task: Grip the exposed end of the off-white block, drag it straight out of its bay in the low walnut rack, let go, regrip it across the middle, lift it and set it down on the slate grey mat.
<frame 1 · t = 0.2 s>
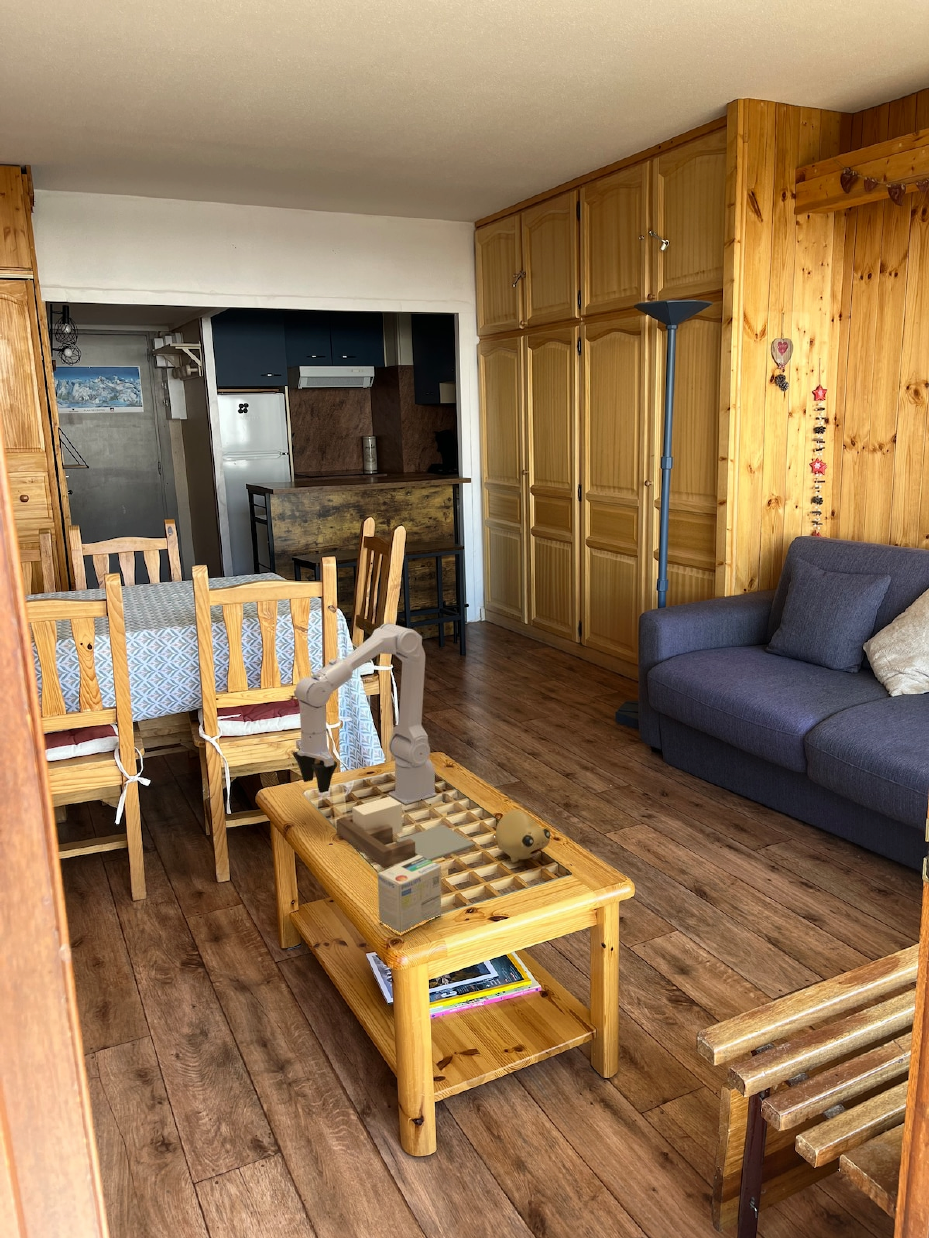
hand: (316, 786, 219), 10 cm above the table, tool pointing down, fingers open, 7 cm apart
off-white block: (377, 834, 217), on the table
tan toy animal: (522, 859, 205), on the table
light bulb box: (410, 920, 181), on the table
walnut rack: (368, 836, 216), on the table
grey mat: (435, 843, 212), on the table
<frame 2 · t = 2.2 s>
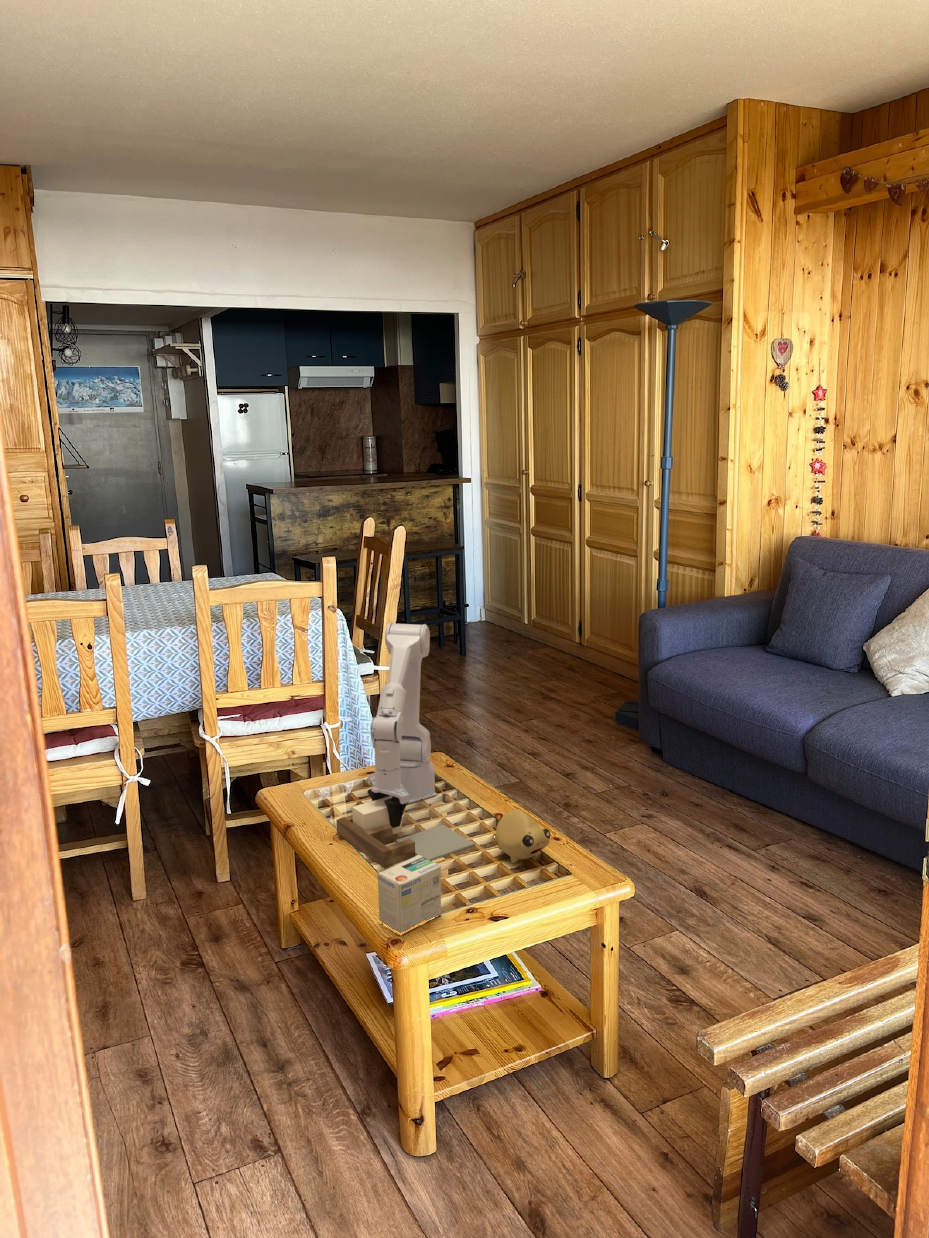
hand: (388, 822, 218), 2 cm above the table, tool pointing down, fingers closed on off-white block, 5 cm apart
off-white block: (377, 833, 217), on the table, touching gripper
everything else where it was.
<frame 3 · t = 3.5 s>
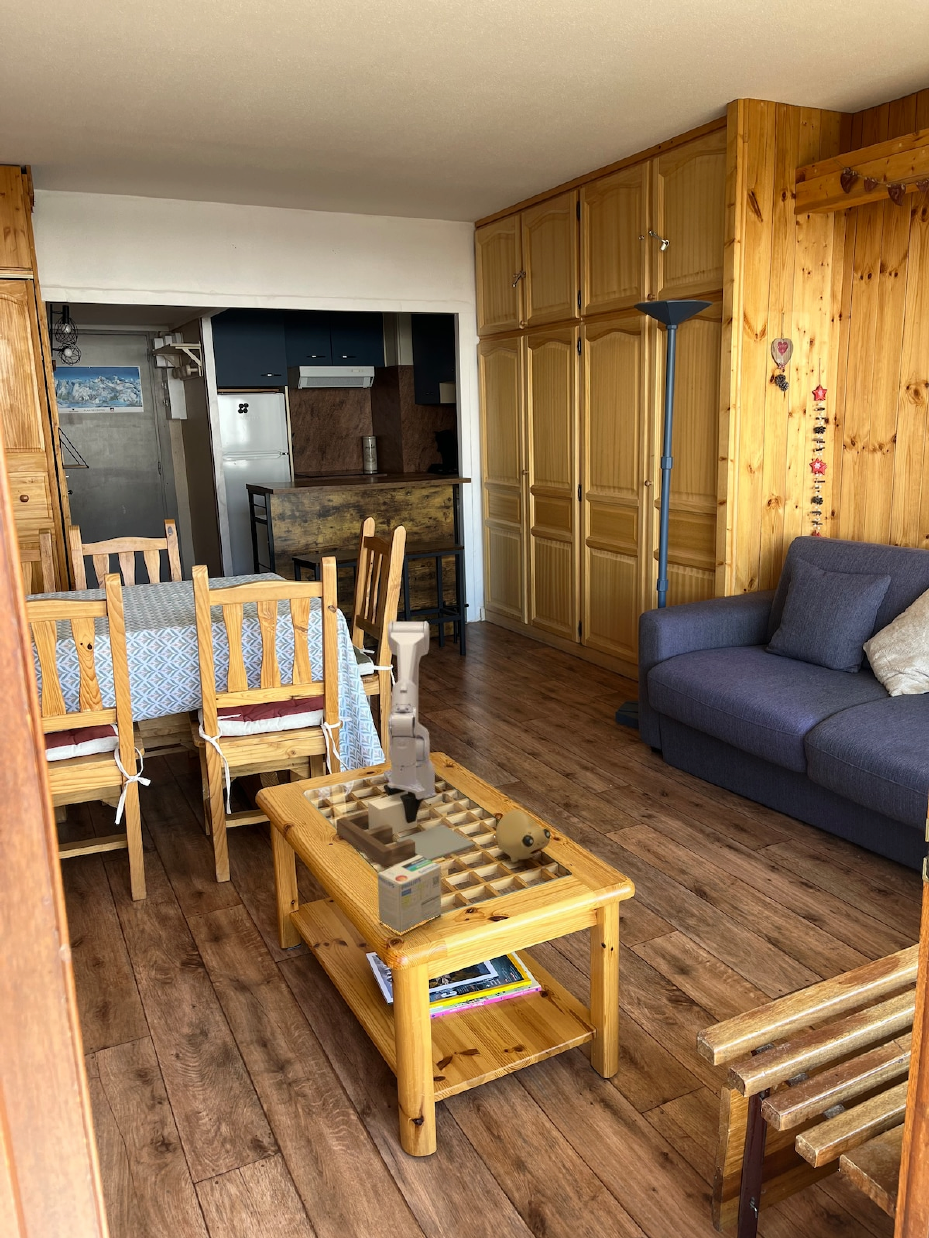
hand: (404, 817, 221), 2 cm above the table, tool pointing down, fingers closed on off-white block, 5 cm apart
off-white block: (393, 828, 219), on the table, touching gripper
everything else where it was.
when the fingers open (2 cm above the table, at t = 4.7 s): off-white block stays where it is, on the table.
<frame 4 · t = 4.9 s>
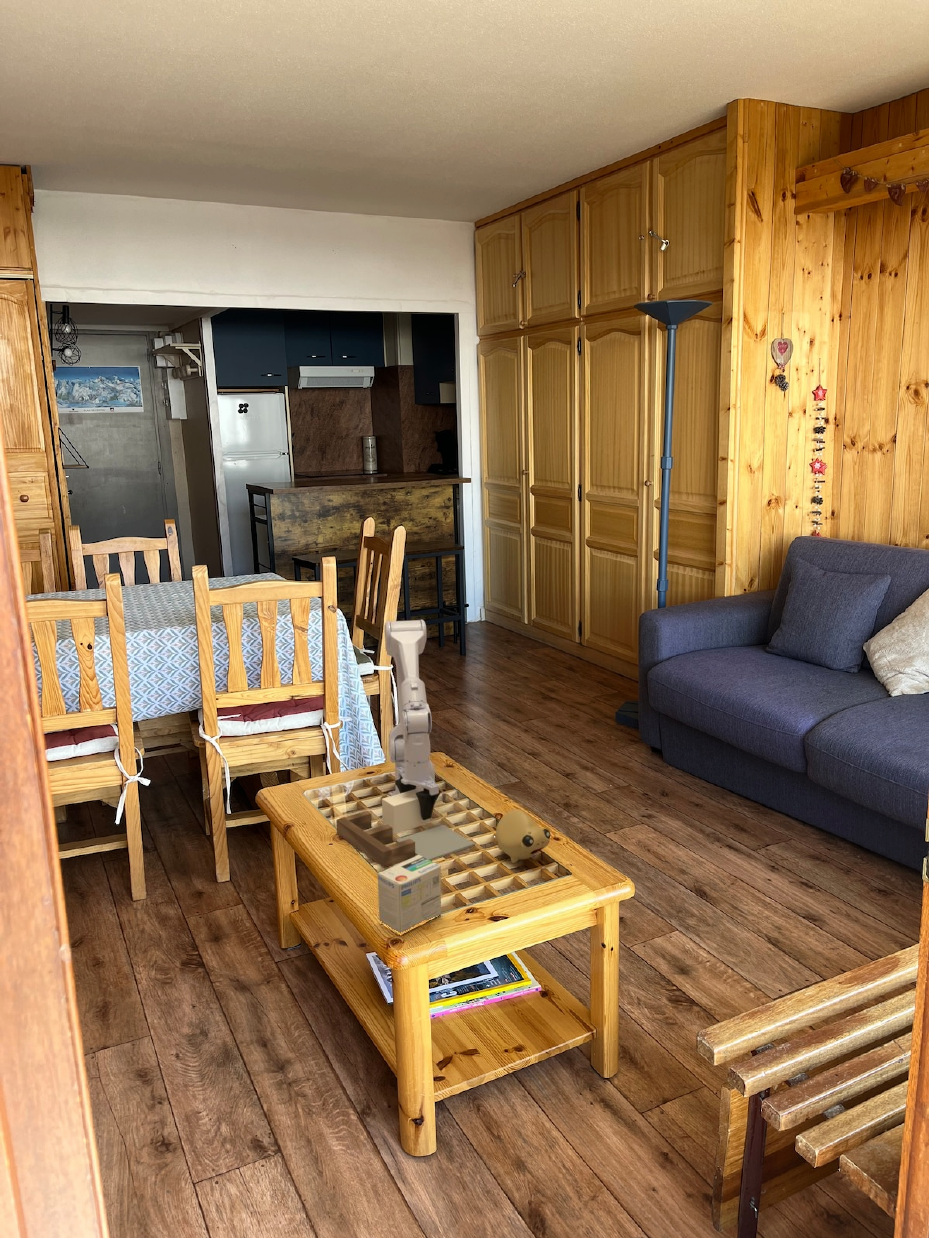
hand: (417, 813, 223), 2 cm above the table, tool pointing down, fingers open, 7 cm apart
off-white block: (406, 824, 222), on the table
everything else where it was.
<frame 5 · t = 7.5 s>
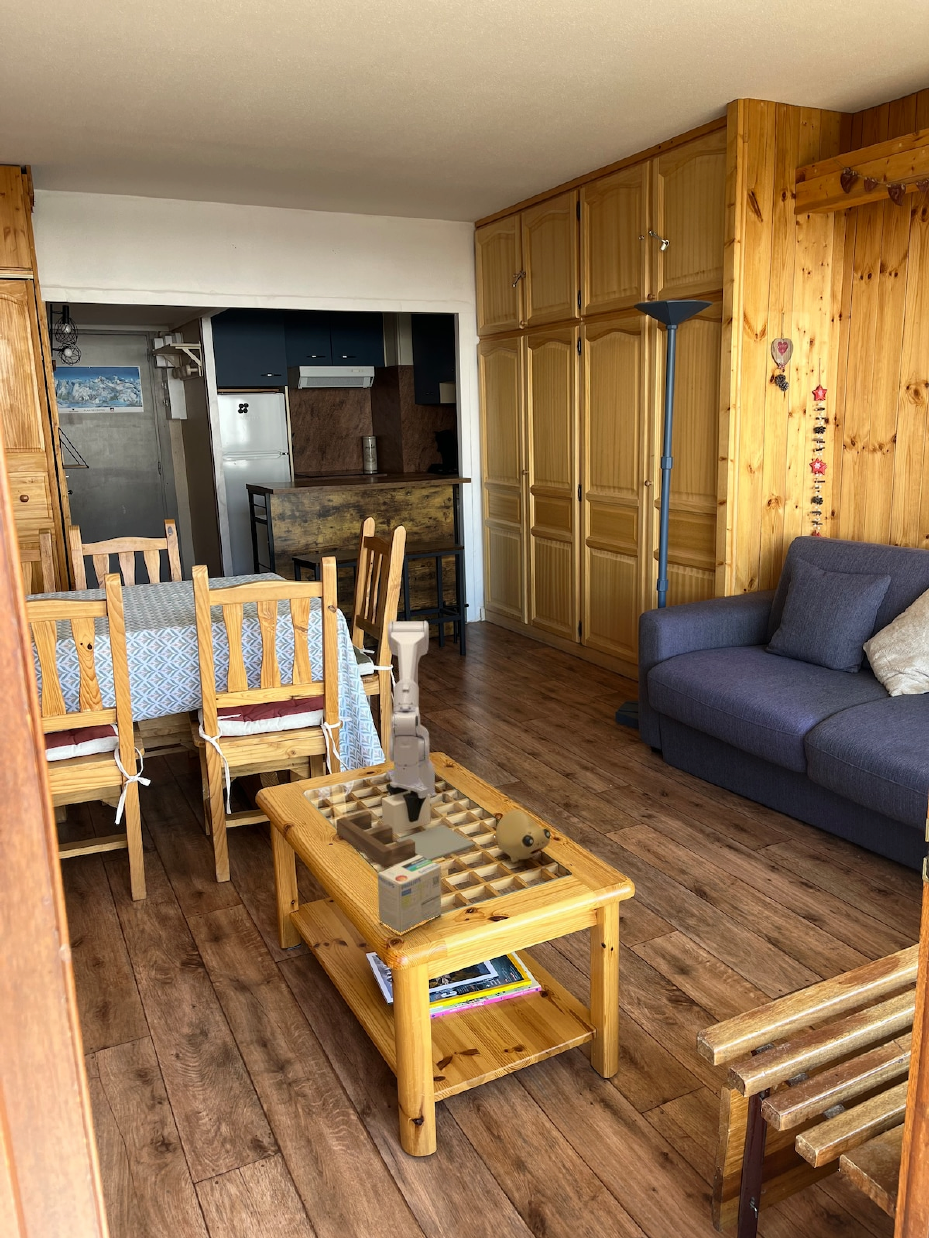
hand: (407, 816, 221), 2 cm above the table, tool pointing down, fingers closed on off-white block, 5 cm apart
off-white block: (406, 824, 222), on the table, touching gripper
everything else where it was.
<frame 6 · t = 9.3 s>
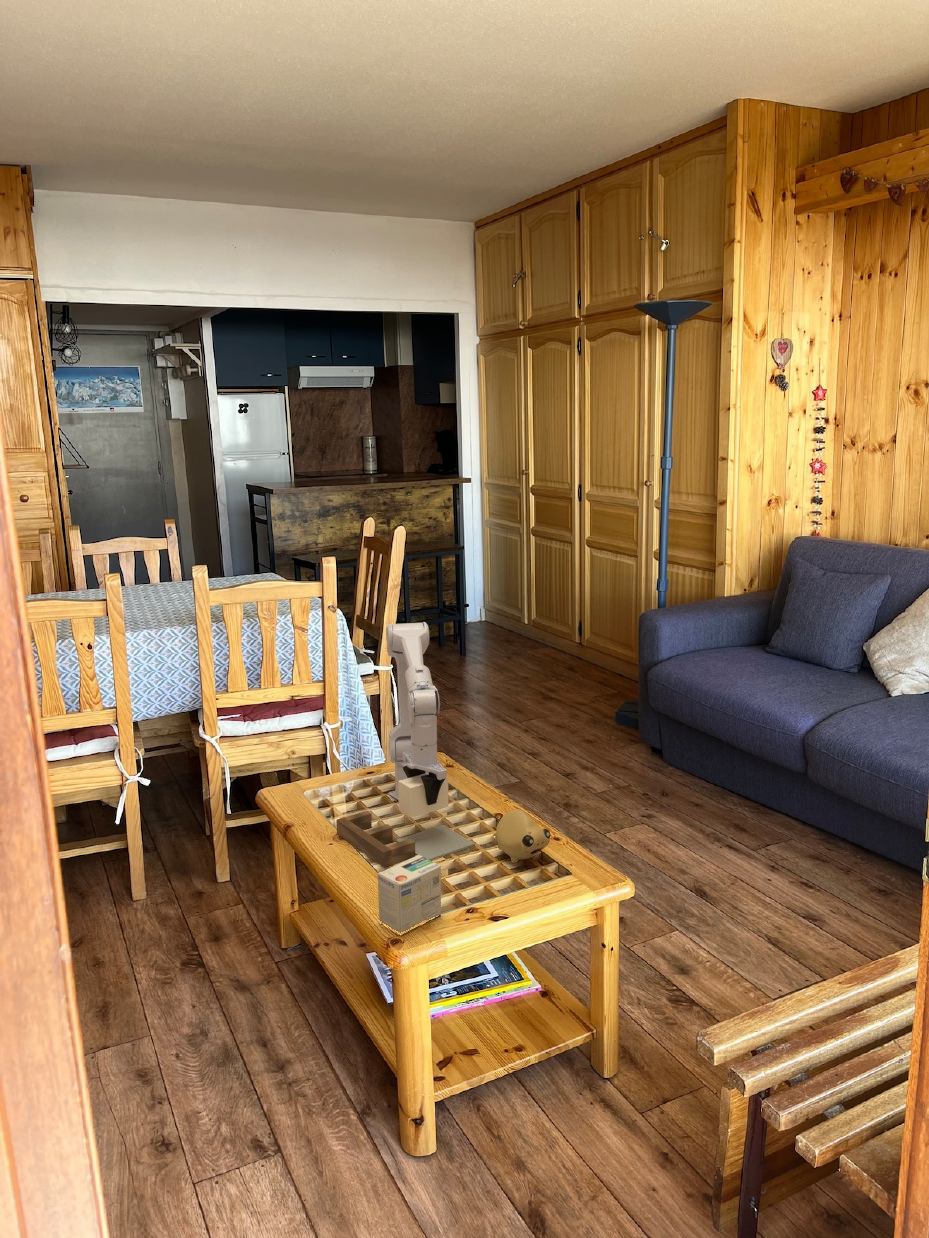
hand: (424, 799, 213), 9 cm above the table, tool pointing down, fingers closed on off-white block, 5 cm apart
off-white block: (423, 808, 214), point 7 cm above the table, touching gripper
everything else where it was.
when the fingers open (4 cm above the table, at t = 11.0 s): off-white block drops 1 cm, resting on grey mat.
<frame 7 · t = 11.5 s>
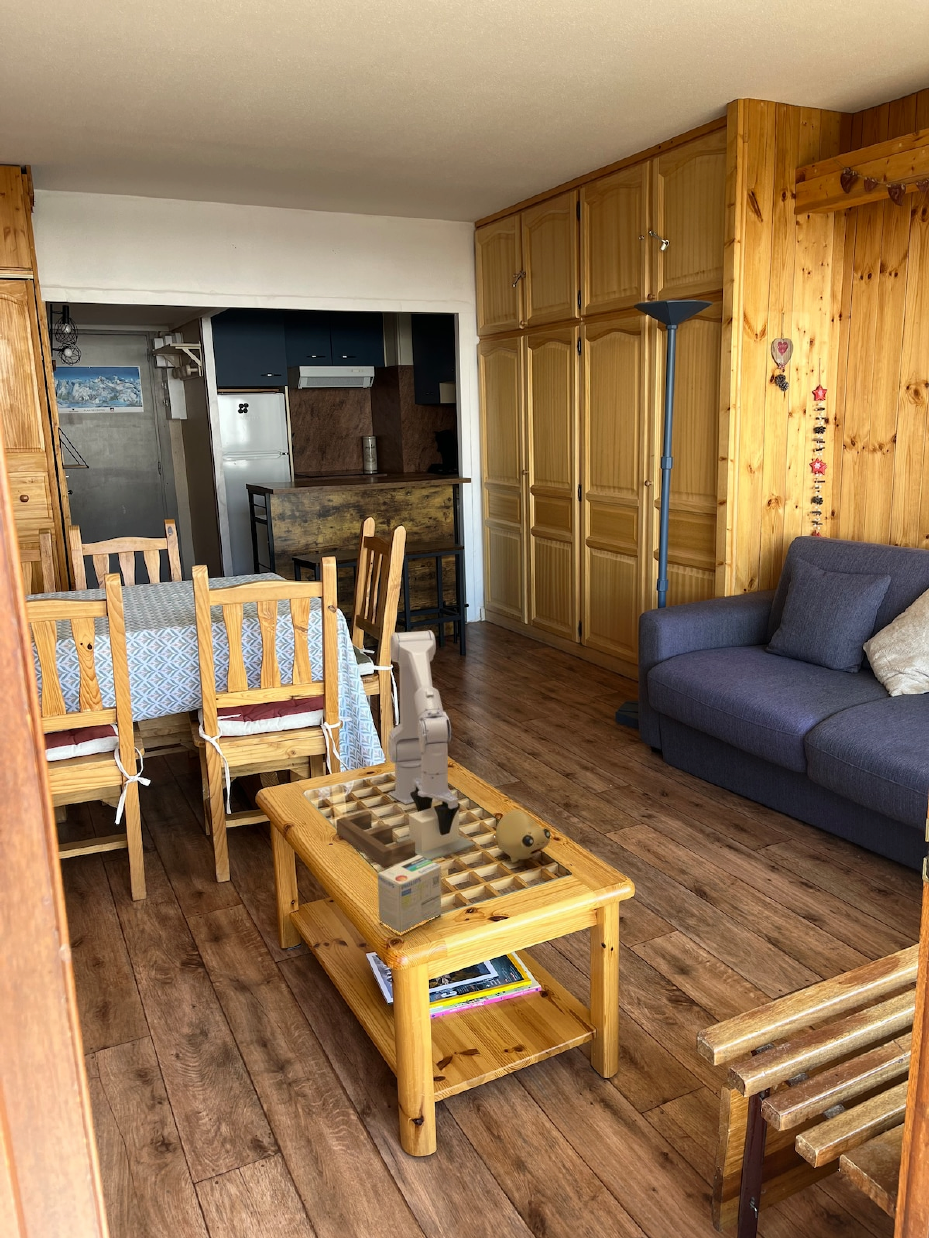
hand: (435, 827, 211), 4 cm above the table, tool pointing down, fingers open, 7 cm apart
off-white block: (434, 841, 212), resting on grey mat
everything else where it was.
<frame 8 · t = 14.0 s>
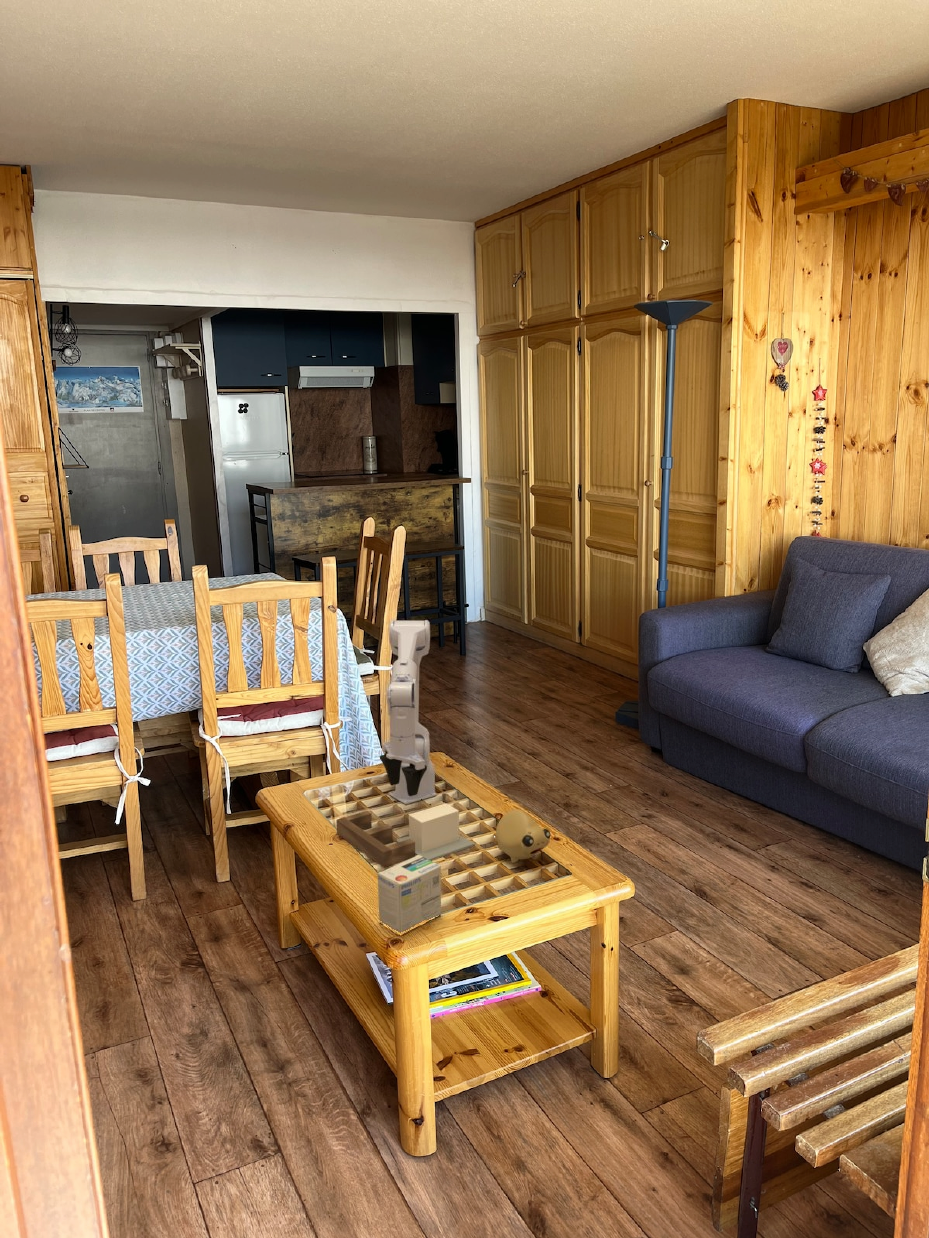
hand: (403, 789, 218), 9 cm above the table, tool pointing down, fingers open, 7 cm apart
nothing on the table moved.
at the end: off-white block inside the target area on the grey mat (0.2 cm from its centre), point 0.5 cm above the grey mat's base; off-white block tilted 0°; the gripper is holding nothing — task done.
